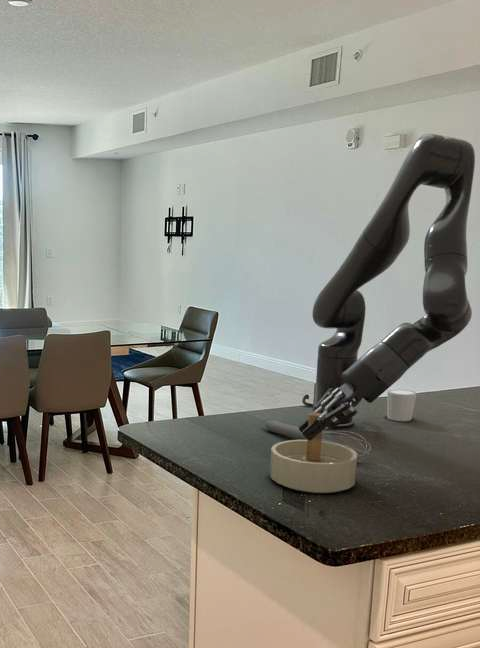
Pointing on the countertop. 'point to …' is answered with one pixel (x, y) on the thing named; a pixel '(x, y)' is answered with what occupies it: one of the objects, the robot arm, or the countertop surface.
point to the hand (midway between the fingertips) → (303, 434)
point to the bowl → (313, 467)
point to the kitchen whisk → (297, 434)
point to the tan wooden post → (314, 443)
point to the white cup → (400, 404)
